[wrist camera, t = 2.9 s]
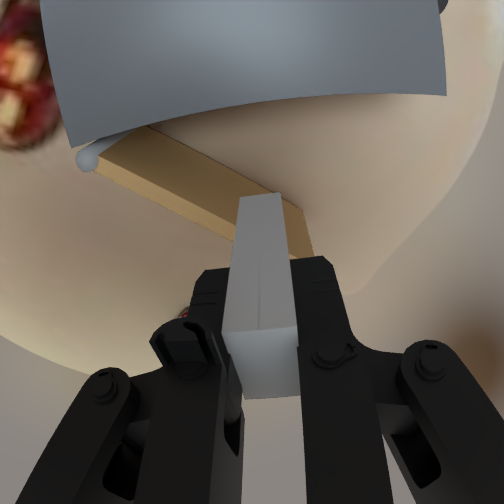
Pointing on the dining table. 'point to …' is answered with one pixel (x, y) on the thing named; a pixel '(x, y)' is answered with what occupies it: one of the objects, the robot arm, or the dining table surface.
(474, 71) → the dining table surface
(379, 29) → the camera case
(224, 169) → the side door
